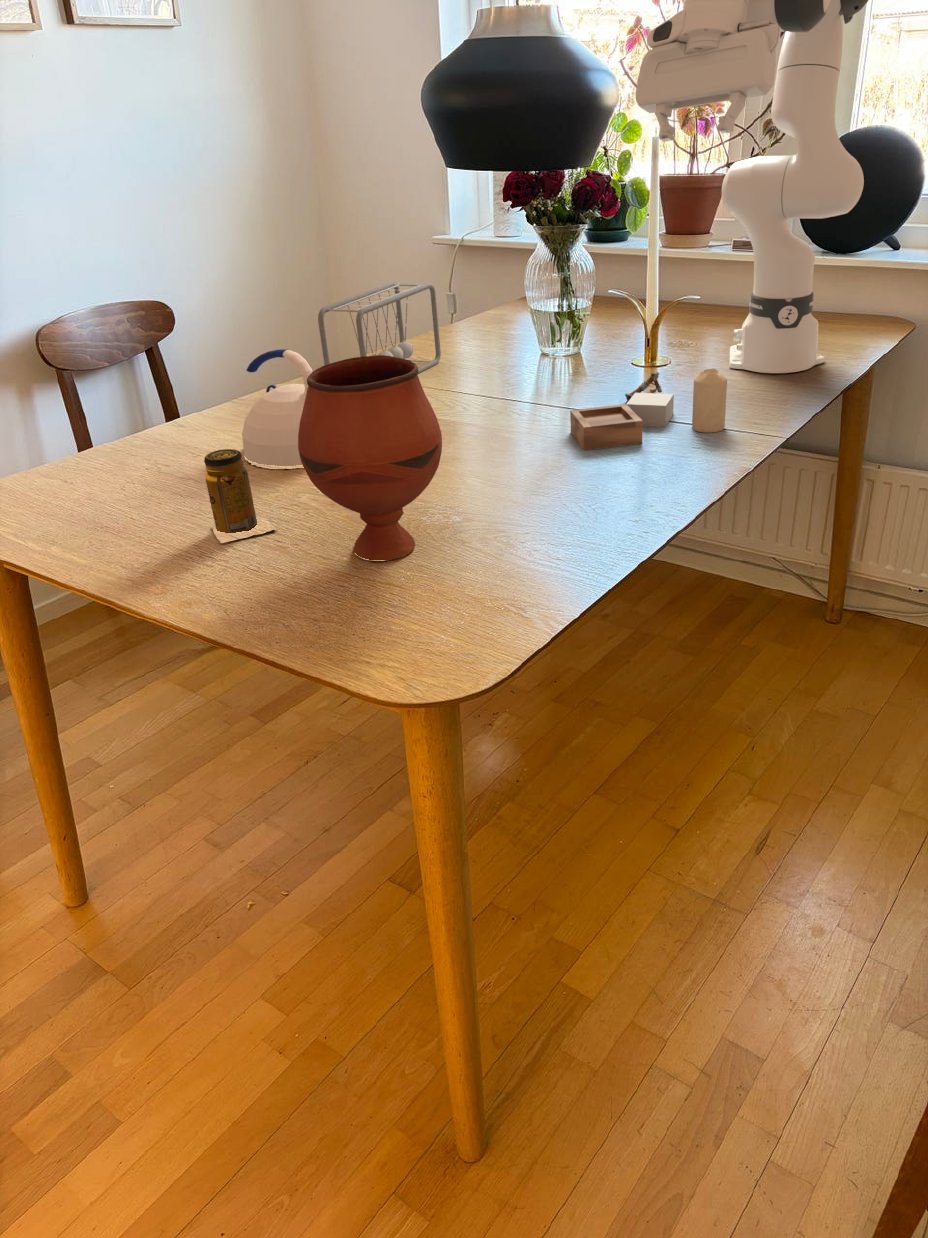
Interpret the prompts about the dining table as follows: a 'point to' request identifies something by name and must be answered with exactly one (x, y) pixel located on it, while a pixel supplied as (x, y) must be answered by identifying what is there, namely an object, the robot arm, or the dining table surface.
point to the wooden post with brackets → (645, 385)
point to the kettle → (276, 417)
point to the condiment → (229, 491)
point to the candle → (709, 401)
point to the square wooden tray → (606, 427)
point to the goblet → (370, 445)
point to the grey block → (653, 408)
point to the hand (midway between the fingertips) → (694, 135)
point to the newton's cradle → (403, 347)
